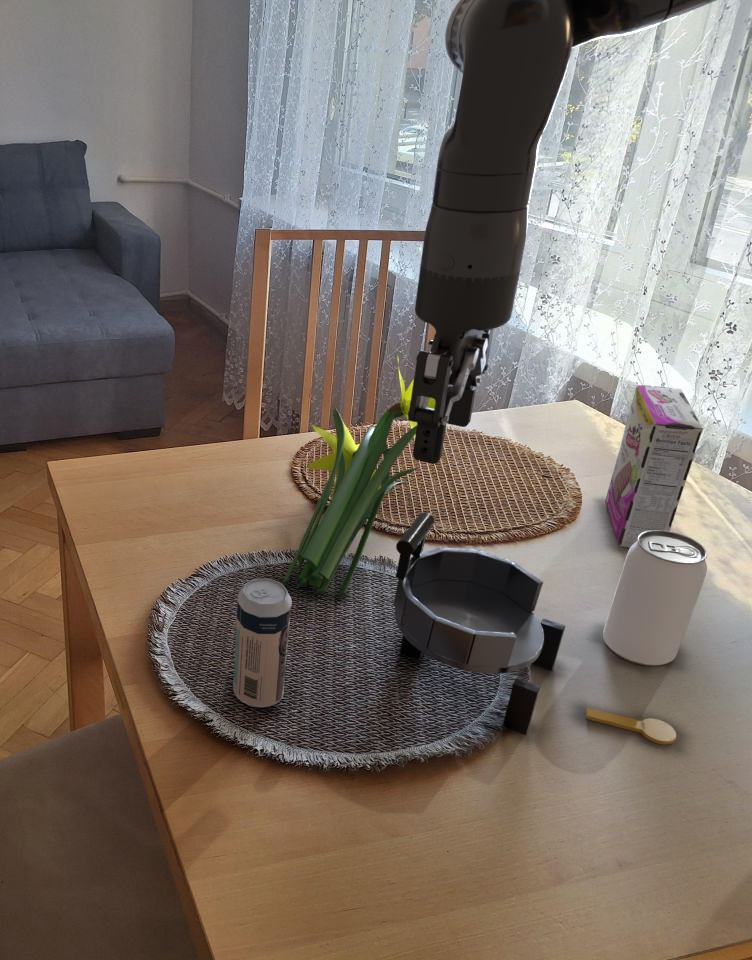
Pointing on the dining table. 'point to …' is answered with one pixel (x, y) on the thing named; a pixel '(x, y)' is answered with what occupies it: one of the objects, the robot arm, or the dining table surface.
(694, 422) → the candy bar box
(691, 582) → the can
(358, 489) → the daffodil flowers
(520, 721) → the bowl stand
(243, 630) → the beer can
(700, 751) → the dining table surface
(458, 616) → the bowl
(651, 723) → the spoon
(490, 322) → the robot arm
